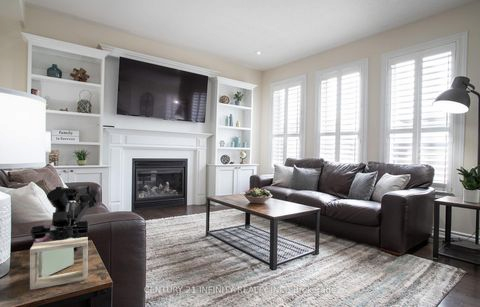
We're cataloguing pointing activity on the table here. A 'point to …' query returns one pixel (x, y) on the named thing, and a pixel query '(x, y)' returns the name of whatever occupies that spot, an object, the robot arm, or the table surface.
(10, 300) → the table surface
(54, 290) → the table surface
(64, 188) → the robot arm
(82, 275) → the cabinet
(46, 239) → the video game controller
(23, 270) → the table surface
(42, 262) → the door
